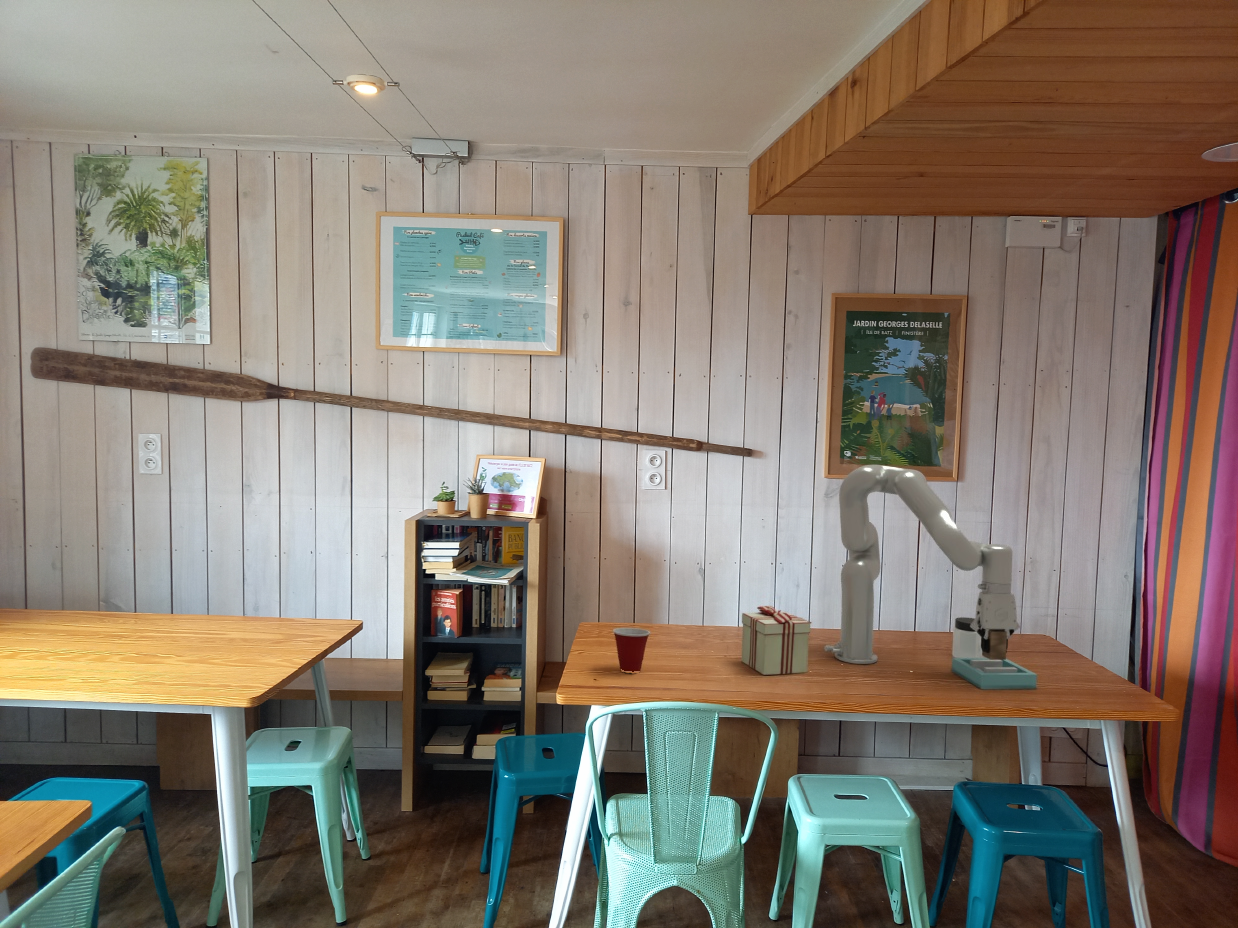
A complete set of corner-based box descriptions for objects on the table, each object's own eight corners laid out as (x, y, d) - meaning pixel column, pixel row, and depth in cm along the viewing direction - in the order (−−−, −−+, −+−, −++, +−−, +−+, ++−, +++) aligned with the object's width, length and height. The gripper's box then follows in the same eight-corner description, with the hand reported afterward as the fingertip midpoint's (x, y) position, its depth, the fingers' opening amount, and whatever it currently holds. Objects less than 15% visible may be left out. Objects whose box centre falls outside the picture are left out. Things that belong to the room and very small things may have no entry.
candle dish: (980, 689, 215) (981, 672, 215) (951, 671, 231) (952, 656, 231) (1036, 688, 217) (1037, 672, 216) (1003, 670, 233) (1004, 655, 232)
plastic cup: (655, 668, 228) (656, 627, 228) (640, 678, 219) (641, 636, 218) (621, 663, 233) (622, 623, 232) (605, 673, 223) (606, 631, 223)
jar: (971, 663, 239) (973, 624, 239) (947, 656, 246) (949, 619, 246) (988, 659, 244) (990, 621, 244) (964, 652, 251) (965, 615, 250)
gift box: (819, 671, 229) (821, 612, 228) (766, 677, 222) (767, 617, 221) (786, 655, 245) (787, 600, 244) (734, 661, 238) (736, 604, 237)
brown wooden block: (990, 659, 221) (991, 631, 221) (982, 655, 226) (982, 627, 225) (1005, 659, 222) (1006, 631, 221) (996, 655, 226) (998, 627, 226)
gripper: (974, 590, 218) (972, 655, 219) (1032, 590, 220) (1030, 655, 220) (961, 585, 226) (958, 648, 227) (1017, 585, 227) (1014, 647, 228)
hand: (994, 650), depth 224 cm, fingers closed on brown wooden block, 4 cm apart
